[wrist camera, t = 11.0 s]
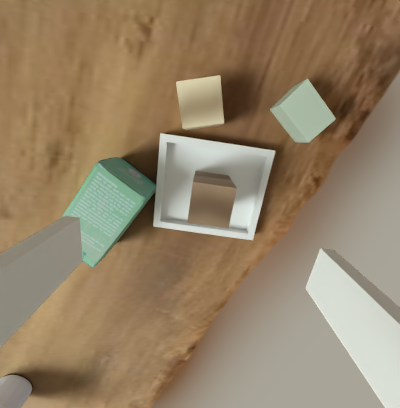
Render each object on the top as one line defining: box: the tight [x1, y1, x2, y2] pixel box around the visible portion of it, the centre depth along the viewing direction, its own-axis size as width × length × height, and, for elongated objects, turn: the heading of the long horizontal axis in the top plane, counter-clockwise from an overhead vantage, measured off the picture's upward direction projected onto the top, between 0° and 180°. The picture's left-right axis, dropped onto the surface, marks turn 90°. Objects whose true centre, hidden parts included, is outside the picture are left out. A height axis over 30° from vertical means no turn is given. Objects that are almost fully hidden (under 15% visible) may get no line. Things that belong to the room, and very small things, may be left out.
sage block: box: [270, 79, 336, 143], centre depth 26 cm, size 6×4×4 cm, turn 44°
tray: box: [153, 133, 275, 240], centre depth 31 cm, size 14×16×2 cm
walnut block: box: [187, 171, 237, 228], centre depth 27 cm, size 5×5×8 cm
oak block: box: [176, 75, 224, 130], centre depth 26 cm, size 5×5×5 cm
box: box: [61, 158, 156, 268], centre depth 29 cm, size 7×14×8 cm, turn 141°
